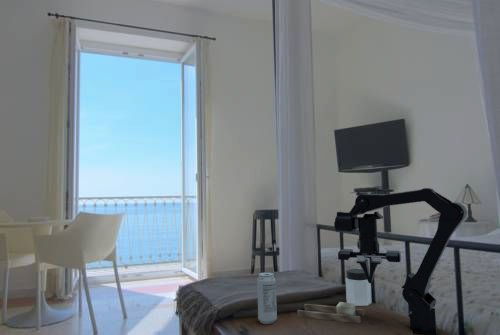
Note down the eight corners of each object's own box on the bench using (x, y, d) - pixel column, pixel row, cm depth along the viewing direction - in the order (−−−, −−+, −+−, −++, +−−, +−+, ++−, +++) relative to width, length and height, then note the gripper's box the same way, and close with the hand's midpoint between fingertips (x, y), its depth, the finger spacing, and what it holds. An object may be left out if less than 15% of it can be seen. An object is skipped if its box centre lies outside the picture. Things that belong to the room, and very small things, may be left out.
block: (355, 315, 125) (355, 303, 126) (352, 320, 121) (352, 307, 121) (340, 314, 127) (339, 301, 128) (336, 318, 123) (336, 305, 123)
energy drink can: (272, 317, 127) (271, 271, 129) (280, 323, 122) (278, 274, 123) (255, 320, 125) (254, 273, 127) (262, 325, 120) (261, 276, 121)
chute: (364, 316, 126) (364, 309, 126) (360, 325, 118) (359, 317, 118) (305, 310, 134) (305, 303, 135) (297, 318, 126) (297, 310, 126)
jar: (369, 301, 145) (367, 268, 145) (374, 307, 136) (372, 272, 137) (344, 301, 145) (343, 268, 146) (348, 307, 137) (347, 273, 138)
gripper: (400, 231, 126) (403, 279, 125) (343, 230, 134) (345, 276, 133) (398, 234, 116) (401, 287, 115) (336, 233, 124) (338, 283, 123)
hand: (370, 283), depth 122 cm, fingers closed
